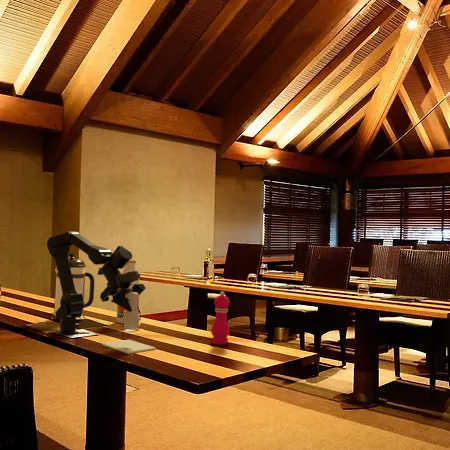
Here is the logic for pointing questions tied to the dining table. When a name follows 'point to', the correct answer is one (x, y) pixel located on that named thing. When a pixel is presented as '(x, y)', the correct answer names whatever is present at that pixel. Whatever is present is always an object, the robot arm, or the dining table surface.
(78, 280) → the coffee press
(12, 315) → the dining table surface
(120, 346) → the sage mat
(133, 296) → the salt shaker
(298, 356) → the dining table surface
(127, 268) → the fruit juice
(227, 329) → the pepper mill
